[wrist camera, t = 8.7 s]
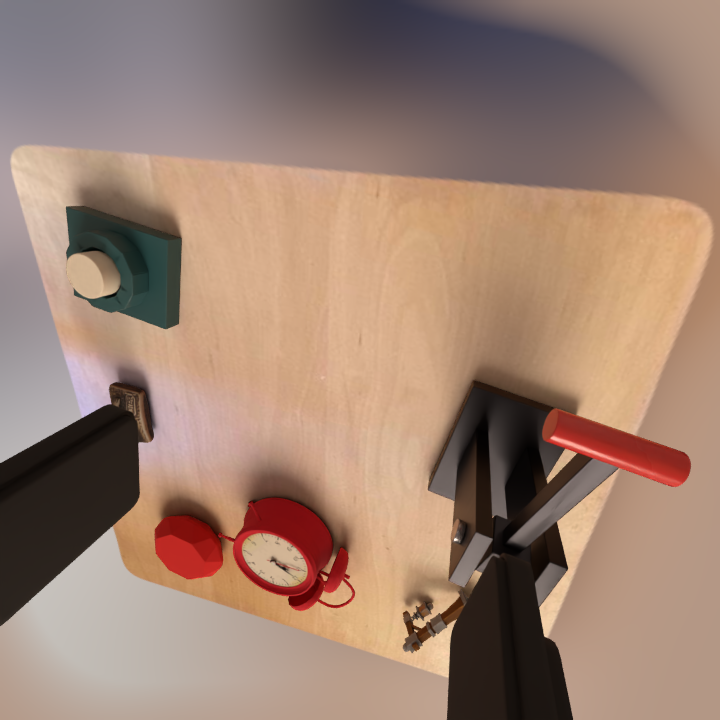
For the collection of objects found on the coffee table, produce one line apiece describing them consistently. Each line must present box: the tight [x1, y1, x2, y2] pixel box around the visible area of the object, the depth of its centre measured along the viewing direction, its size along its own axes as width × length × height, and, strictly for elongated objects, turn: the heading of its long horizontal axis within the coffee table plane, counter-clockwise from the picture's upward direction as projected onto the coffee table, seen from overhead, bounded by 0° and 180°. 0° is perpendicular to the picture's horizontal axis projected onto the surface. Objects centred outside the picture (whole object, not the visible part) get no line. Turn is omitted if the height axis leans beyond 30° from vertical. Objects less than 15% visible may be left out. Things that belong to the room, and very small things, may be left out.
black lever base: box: [428, 380, 568, 607], centre depth 27 cm, size 11×8×12 cm
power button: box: [66, 251, 121, 299], centre depth 31 cm, size 4×4×2 cm
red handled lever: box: [475, 408, 691, 573], centre depth 20 cm, size 13×5×2 cm, turn 166°
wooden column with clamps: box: [403, 590, 468, 653], centre depth 39 cm, size 2×8×4 cm, turn 128°
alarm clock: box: [218, 498, 355, 611], centre depth 41 cm, size 10×6×15 cm
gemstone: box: [155, 515, 223, 579], centre depth 46 cm, size 9×9×3 cm
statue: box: [109, 382, 154, 443], centre depth 33 cm, size 4×7×20 cm, turn 176°
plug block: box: [66, 206, 181, 329], centre depth 33 cm, size 8×10×4 cm
